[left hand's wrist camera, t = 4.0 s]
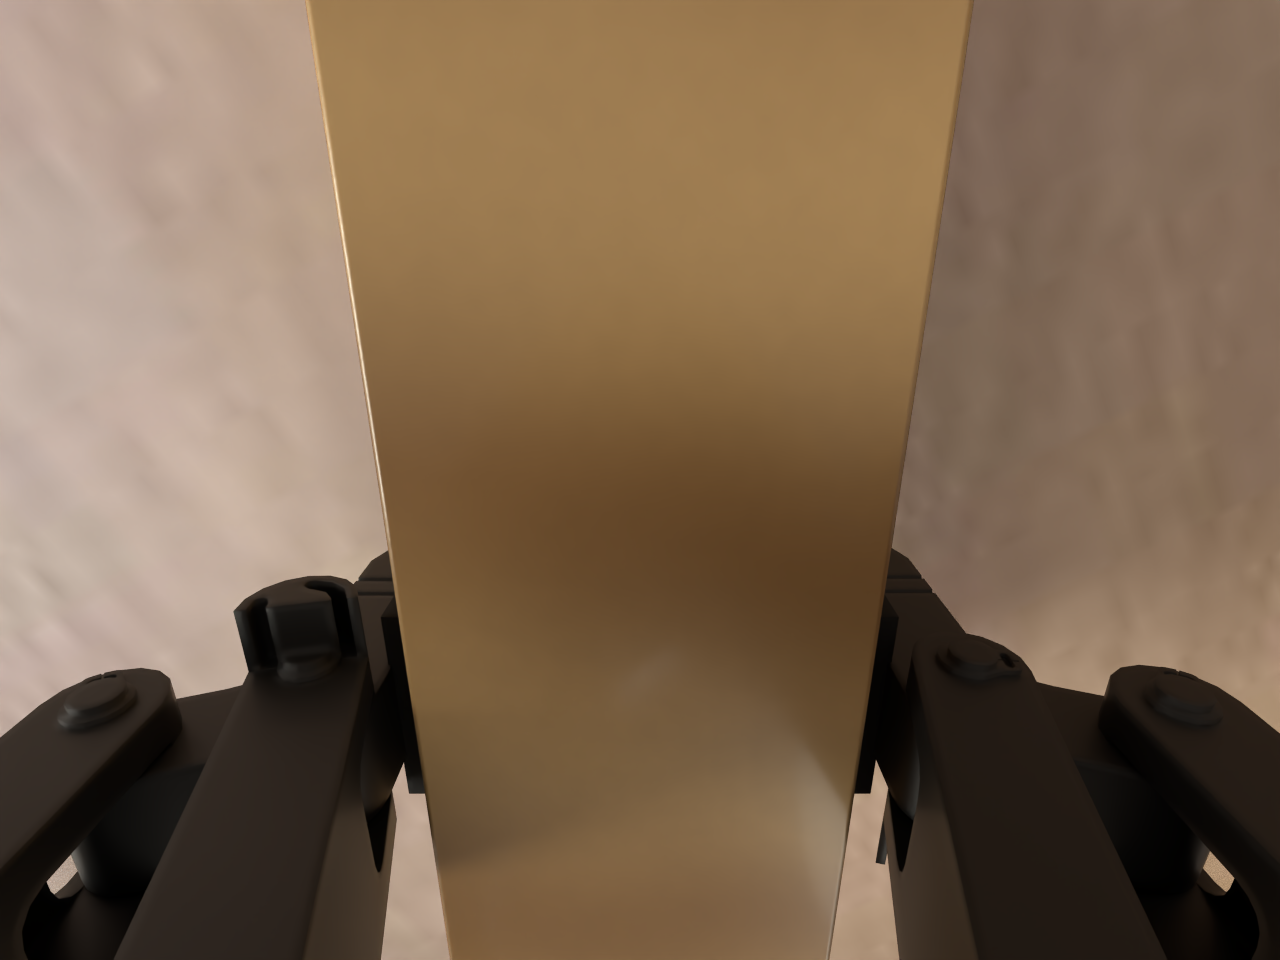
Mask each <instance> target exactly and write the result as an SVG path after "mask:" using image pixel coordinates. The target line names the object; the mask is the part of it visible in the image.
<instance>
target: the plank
mask: <svg viewBox="0 0 1280 960" xmlns="http://www.w3.org/2000/svg"><path fill="white" fill-rule="evenodd" d="M305 3H306V10H307V16H308V23H309V29H310V36H311V43H312V49H313V56H314V62H315V69H316V76H317V82H318V89H319V95H320V102H321V109H322V115H323V122H324V128H325V135H326V142H327V148H328V155H329V161H330V168H331V175H332V181H333V188H334V195H335V201H336V208H337V214H338V221H339V228H340V234H341V241H342V247H343V254H344V261H345V267H346V274H347V280H348V287H349V294H350V300H351V307H352V313H353V320H354V327H355V333H356V340H357V347H358V353H359V360H360V366H361V373H362V380H363V386H364V393H365V399H366V406H367V413H368V419H369V426H370V432H371V439H372V446H373V452H374V459H375V465H376V472H377V479H378V485H379V492H380V498H381V505H382V512H383V518H384V525H385V532H386V538H387V545H388V551H389V558H390V565H391V571H392V578H393V584H394V591H395V598H396V604H397V611H398V617H399V624H400V631H401V637H402V644H403V650H404V657H405V664H406V670H407V677H408V684H409V690H410V697H411V703H412V710H413V717H414V723H415V730H416V736H417V743H418V750H419V756H420V763H421V769H422V776H423V783H424V789H425V796H426V802H427V809H428V816H429V822H430V829H431V835H432V842H433V849H434V855H435V862H436V869H437V875H438V882H439V888H440V895H441V902H442V908H443V915H444V921H445V928H446V935H447V941H448V948H449V954H450V960H829V958H830V951H831V944H832V938H833V931H834V924H835V918H836V911H837V905H838V898H839V891H840V885H841V878H842V871H843V865H844V858H845V852H846V845H847V838H848V832H849V825H850V818H851V812H852V805H853V799H854V792H855V785H856V779H857V772H858V765H859V759H860V752H861V746H862V739H863V732H864V726H865V719H866V712H867V706H868V699H869V693H870V686H871V679H872V673H873V666H874V659H875V653H876V646H877V639H878V633H879V626H880V620H881V613H882V606H883V600H884V593H885V586H886V580H887V573H888V567H889V560H890V553H891V547H892V540H893V533H894V527H895V520H896V514H897V507H898V500H899V494H900V487H901V480H902V474H903V467H904V461H905V454H906V447H907V441H908V434H909V427H910V421H911V414H912V407H913V401H914V394H915V388H916V381H917V374H918V368H919V361H920V354H921V348H922V341H923V335H924V328H925V321H926V315H927V308H928V301H929V295H930V288H931V282H932V275H933V268H934V262H935V255H936V248H937V242H938V235H939V229H940V222H941V215H942V209H943V202H944V195H945V189H946V182H947V176H948V169H949V162H950V156H951V149H952V142H953V136H954V129H955V122H956V116H957V109H958V103H959V96H960V89H961V83H962V76H963V69H964V63H965V56H966V50H967V43H968V36H969V30H970V23H971V16H972V10H973V3H974V0H305Z"/></svg>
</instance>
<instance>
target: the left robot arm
mask: <svg viewBox="0 0 1280 960" xmlns="http://www.w3.org/2000/svg"><path fill="white" fill-rule="evenodd" d="M234 615H235V619H236V623H237V627H238V631H239V635H240V639H241V643H242V647H243V651H244V655H245V659H246V663H247V667H248V671H249V673H248V675H247V677H246V679H245V681H244V683H243V685H241V686H237V687H233V688H230V689H225V690H220V691H215V692H210V693H205V694H200V695H195V696H190V697H185V698H179V699H176V697H175V694H174V690H173V687H172V684H171V681H170V678H168V677H167V676H166V675H165V674H163V673H162V672H161V671H158V670H151V669H144V668H137V669H127V670H116V671H111V672H106V673H104V674H103V675H101V674H99V675H96V676H93V677H90V678H87V679H85V680H84V681H82V682H80V683H78V684H76V685H73V686H71V687H69V688H67V689H64V690H62V691H61V692H59V693H58V694H56V695H55V696H53V697H52V698H50V699H49V700H47V701H46V702H44V703H43V704H41V705H40V706H38V707H37V708H36V709H35V710H34V711H32V712H31V713H30V714H29V715H27V716H26V717H25V718H24V719H23V720H21V721H20V722H19V723H18V724H16V725H15V726H14V727H13V728H11V729H10V730H9V731H8V732H7V733H5V734H4V735H3V736H2V737H0V960H381V953H382V944H383V935H384V926H385V918H386V909H387V900H388V891H389V882H390V874H391V865H392V856H393V847H394V838H395V830H396V821H397V818H396V811H395V805H394V799H393V793H392V789H393V786H394V784H395V782H396V779H397V777H398V775H399V772H400V770H401V768H402V765H403V763H404V765H405V771H406V777H407V783H408V789H409V794H425V789H424V783H423V776H422V769H421V763H420V756H419V750H418V743H417V736H416V730H415V723H414V717H413V710H412V703H411V697H410V690H409V684H408V677H407V670H406V664H405V657H404V650H403V644H402V637H401V631H400V624H399V617H398V611H397V604H396V598H395V591H394V584H393V578H392V571H391V565H390V558H389V551H386V552H385V553H383V554H382V555H380V556H378V557H377V558H375V559H374V560H372V561H371V562H370V564H369V565H368V566H367V567H366V569H365V570H364V571H363V573H362V574H361V575H360V577H359V581H356V582H355V583H354V584H352V583H351V582H349V581H348V580H347V579H342V578H338V577H333V576H307V577H302V578H296V579H291V580H286V581H283V582H280V583H277V584H274V585H272V586H269V587H266V588H263V589H262V590H260V591H258V592H256V593H255V594H253V595H251V596H249V597H248V598H246V599H245V600H244V601H243V602H242V603H241V604H240V605H239V606H238V607H237V608H236V609H235V610H234ZM876 760H877V763H878V765H879V767H880V770H881V772H882V774H883V777H884V779H885V781H886V784H887V786H888V793H887V799H886V805H885V811H884V816H883V822H882V828H881V834H880V839H879V845H878V851H877V858H876V863H880V864H885V861H886V856H887V854H888V863H889V872H890V881H891V889H892V898H893V907H894V916H895V925H896V933H897V942H898V951H899V960H1280V733H1278V732H1277V731H1276V730H1275V729H1274V728H1272V727H1271V726H1270V725H1269V724H1267V723H1266V722H1265V721H1264V720H1262V719H1261V718H1260V717H1259V716H1258V715H1256V714H1255V713H1254V712H1253V711H1251V710H1250V709H1249V708H1248V707H1246V706H1245V705H1244V704H1243V703H1241V702H1240V701H1239V700H1237V699H1236V698H1234V697H1232V696H1231V695H1229V694H1228V693H1226V692H1225V691H1223V690H1222V689H1220V688H1219V687H1217V686H1215V685H1212V684H1210V683H1208V682H1205V681H1203V680H1201V679H1199V678H1197V677H1196V676H1194V675H1192V674H1189V673H1186V672H1182V671H1179V672H1178V671H1176V670H1175V669H1171V668H1166V667H1155V666H1145V665H1135V666H1128V667H1122V668H1120V669H1118V670H1117V671H1116V672H1114V673H1113V674H1112V675H1110V679H1109V682H1108V685H1107V689H1106V692H1105V695H1104V696H1101V695H1096V694H1091V693H1085V692H1080V691H1075V690H1070V689H1065V688H1060V687H1055V686H1050V685H1047V684H1043V683H1039V682H1036V680H1035V678H1034V676H1033V674H1032V671H1031V670H1030V669H1029V667H1028V666H1027V665H1026V664H1025V662H1024V661H1023V660H1022V659H1021V658H1020V657H1019V656H1018V655H1016V654H1015V653H1013V652H1012V651H1010V650H1009V649H1007V648H1006V647H1004V646H1003V645H1000V644H998V643H995V642H993V641H991V640H988V639H986V638H983V637H980V636H975V635H971V634H966V633H965V631H964V630H963V629H962V628H961V626H960V625H959V624H958V622H957V621H956V620H955V618H954V617H953V616H952V615H951V613H950V612H949V611H948V609H947V608H946V607H945V605H944V604H943V603H942V602H941V600H940V599H939V598H938V596H937V595H936V594H935V593H932V589H931V587H930V586H929V585H928V583H927V582H926V581H925V580H924V579H922V578H921V574H920V573H919V572H918V570H917V569H916V568H915V567H914V565H913V564H912V563H911V561H910V560H909V559H908V558H907V557H905V556H904V555H902V554H900V553H899V552H897V551H895V550H894V549H892V548H891V553H890V560H889V567H888V573H887V580H886V586H885V593H884V600H883V606H882V613H881V620H880V626H879V633H878V639H877V646H876V653H875V659H874V666H873V673H872V679H871V686H870V693H869V699H868V706H867V712H866V719H865V726H864V732H863V739H862V746H861V752H860V759H859V765H858V772H857V779H856V785H855V792H854V794H870V793H871V787H872V781H873V774H874V768H875V762H876ZM1210 851H1211V852H1212V853H1213V855H1214V856H1215V857H1216V858H1217V859H1218V860H1219V861H1220V862H1221V863H1222V865H1223V866H1224V867H1225V868H1226V869H1227V870H1228V871H1229V872H1230V873H1231V875H1232V876H1233V877H1234V881H1233V883H1232V885H1231V887H1230V889H1229V890H1228V891H1227V892H1226V891H1224V890H1223V889H1222V888H1221V887H1220V886H1218V885H1217V884H1216V883H1215V882H1214V881H1213V880H1212V878H1211V877H1210V876H1209V875H1208V874H1207V873H1206V871H1205V870H1204V869H1203V866H1204V864H1205V862H1206V859H1207V857H1208V855H1209V852H1210ZM70 855H71V856H72V858H73V861H74V863H75V866H76V868H77V870H78V871H77V873H76V874H75V875H74V876H73V877H72V878H71V880H70V881H69V882H68V883H67V884H66V885H65V886H64V887H63V888H62V889H60V890H59V891H58V892H57V893H56V894H53V893H52V892H51V891H50V889H49V887H48V884H47V880H48V879H49V878H50V877H51V876H52V875H53V874H54V873H55V871H56V870H57V869H58V868H59V867H60V866H61V865H62V864H63V862H64V861H65V860H66V859H67V858H68V857H69V856H70Z"/></svg>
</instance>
